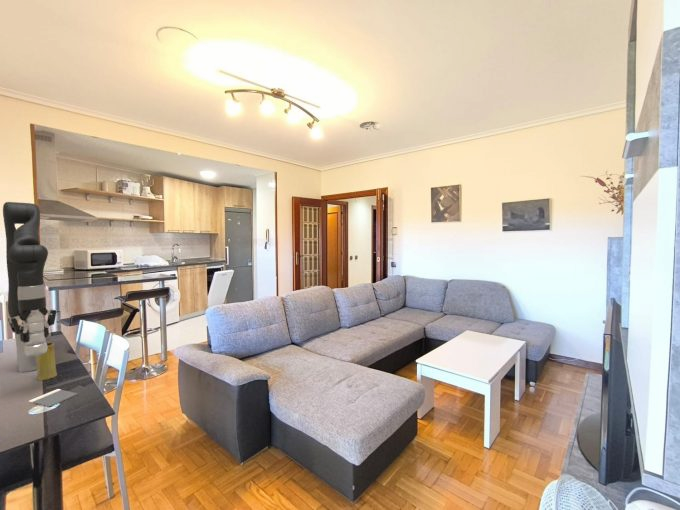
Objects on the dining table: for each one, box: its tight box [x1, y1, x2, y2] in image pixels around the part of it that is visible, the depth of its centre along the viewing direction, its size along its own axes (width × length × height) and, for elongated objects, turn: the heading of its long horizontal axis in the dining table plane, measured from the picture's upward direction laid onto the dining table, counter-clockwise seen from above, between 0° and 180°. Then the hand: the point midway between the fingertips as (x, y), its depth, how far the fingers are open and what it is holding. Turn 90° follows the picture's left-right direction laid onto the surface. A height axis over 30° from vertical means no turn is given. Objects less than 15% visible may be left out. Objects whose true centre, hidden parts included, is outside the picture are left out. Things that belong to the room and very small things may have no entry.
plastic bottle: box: [21, 309, 48, 357], centre depth 118 cm, size 6×7×20 cm
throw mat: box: [28, 388, 79, 408], centre depth 113 cm, size 12×9×1 cm
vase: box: [37, 342, 58, 381], centre depth 130 cm, size 6×6×14 cm
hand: (35, 339), depth 118 cm, fingers closed on plastic bottle, 5 cm apart
